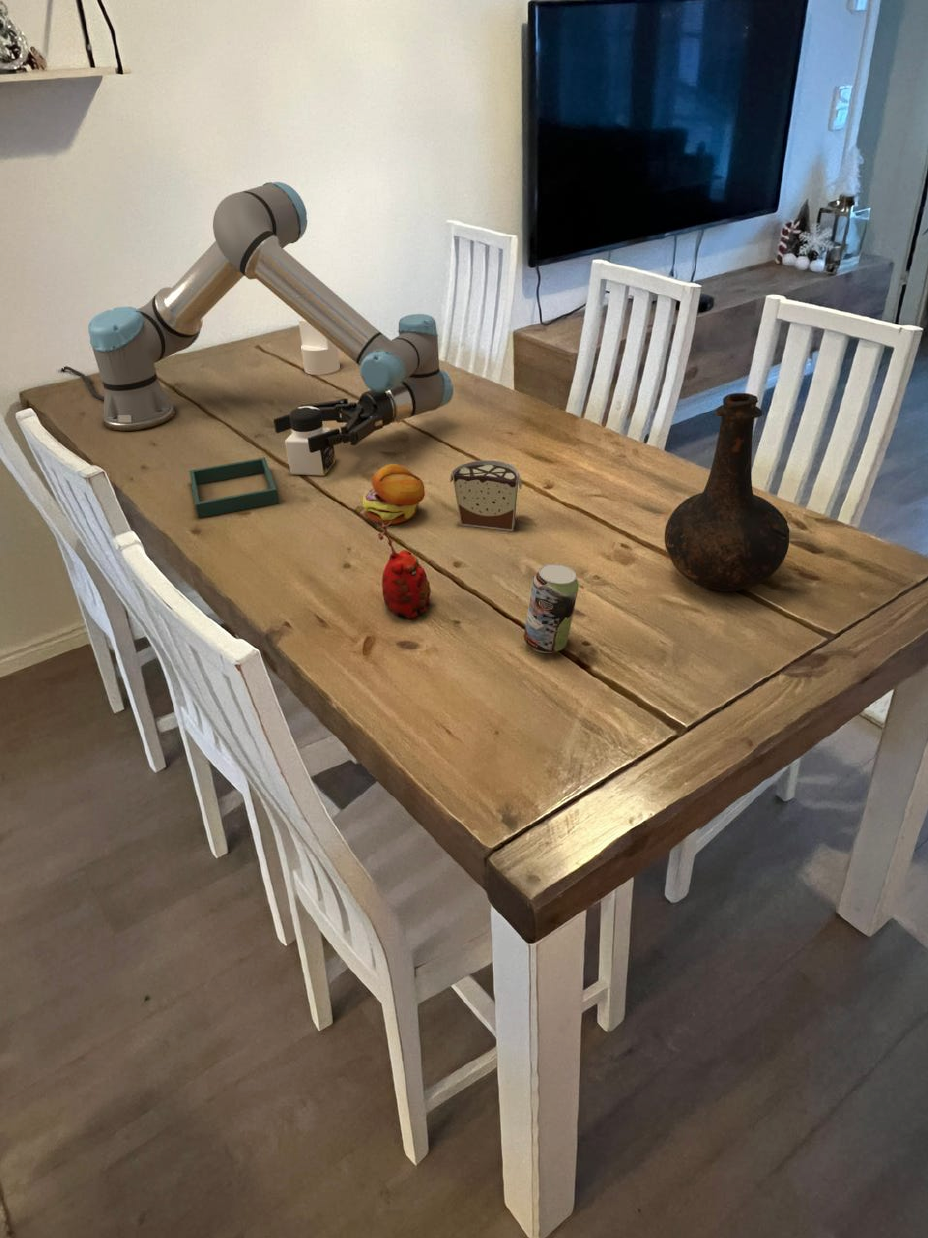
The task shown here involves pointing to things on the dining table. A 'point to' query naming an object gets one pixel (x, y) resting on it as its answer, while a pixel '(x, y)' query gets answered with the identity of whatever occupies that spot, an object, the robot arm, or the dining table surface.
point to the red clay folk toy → (404, 582)
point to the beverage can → (551, 608)
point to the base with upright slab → (317, 351)
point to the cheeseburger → (393, 495)
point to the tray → (234, 501)
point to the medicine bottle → (299, 456)
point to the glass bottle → (729, 514)
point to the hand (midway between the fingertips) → (291, 435)
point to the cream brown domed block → (486, 494)
